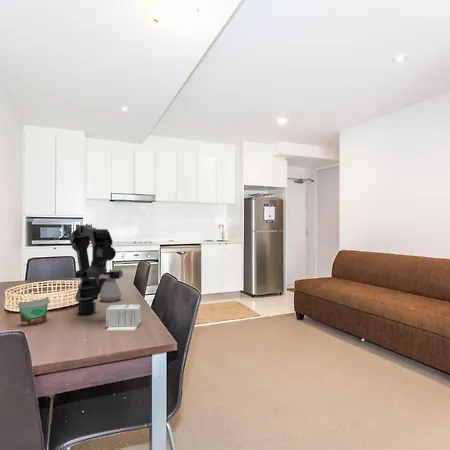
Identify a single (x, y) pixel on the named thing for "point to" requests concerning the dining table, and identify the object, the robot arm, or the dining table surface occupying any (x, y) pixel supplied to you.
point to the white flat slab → (123, 328)
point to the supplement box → (122, 315)
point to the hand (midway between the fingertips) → (98, 293)
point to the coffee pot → (110, 291)
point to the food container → (33, 312)
